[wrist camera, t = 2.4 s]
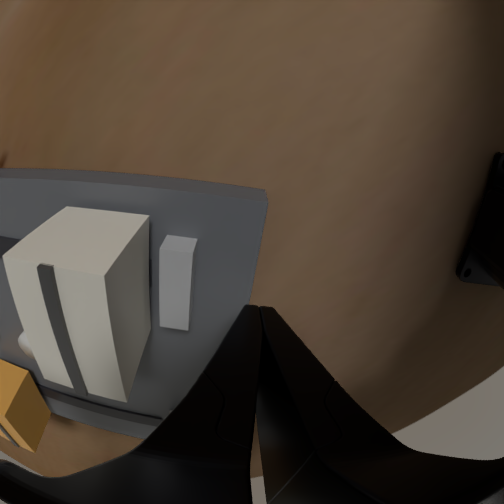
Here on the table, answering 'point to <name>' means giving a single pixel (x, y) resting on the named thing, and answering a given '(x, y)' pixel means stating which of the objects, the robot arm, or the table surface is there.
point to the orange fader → (21, 407)
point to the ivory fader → (85, 297)
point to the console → (160, 279)
